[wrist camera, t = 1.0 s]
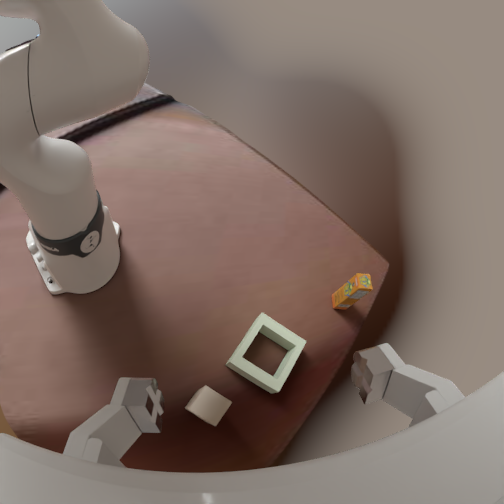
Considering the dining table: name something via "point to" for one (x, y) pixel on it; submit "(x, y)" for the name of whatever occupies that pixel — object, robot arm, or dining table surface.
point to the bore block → (277, 335)
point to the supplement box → (352, 291)
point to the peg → (208, 405)
